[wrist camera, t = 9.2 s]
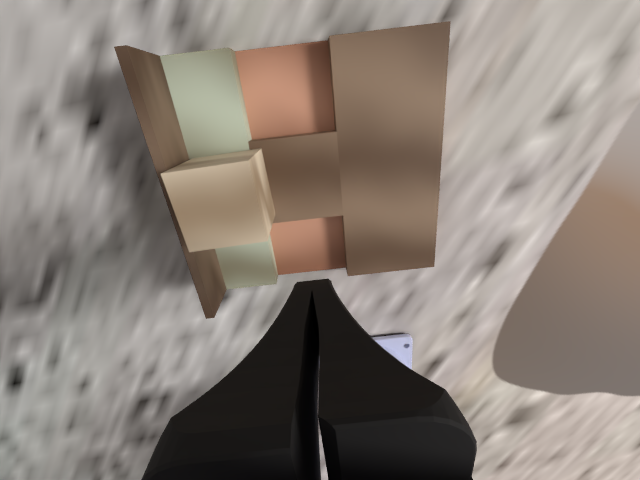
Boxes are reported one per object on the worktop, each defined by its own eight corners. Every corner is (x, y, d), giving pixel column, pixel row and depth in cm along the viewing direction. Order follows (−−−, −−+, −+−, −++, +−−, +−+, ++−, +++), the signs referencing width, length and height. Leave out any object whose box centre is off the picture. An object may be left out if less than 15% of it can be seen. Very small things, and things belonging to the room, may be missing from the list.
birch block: (275, 214, 18) (267, 241, 15) (212, 223, 19) (189, 252, 15) (261, 148, 17) (248, 160, 13) (192, 158, 17) (160, 173, 13)
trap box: (426, 256, 22) (453, 291, 18) (225, 278, 22) (206, 318, 18) (438, 28, 16) (482, 2, 12) (163, 61, 16) (114, 46, 12)
